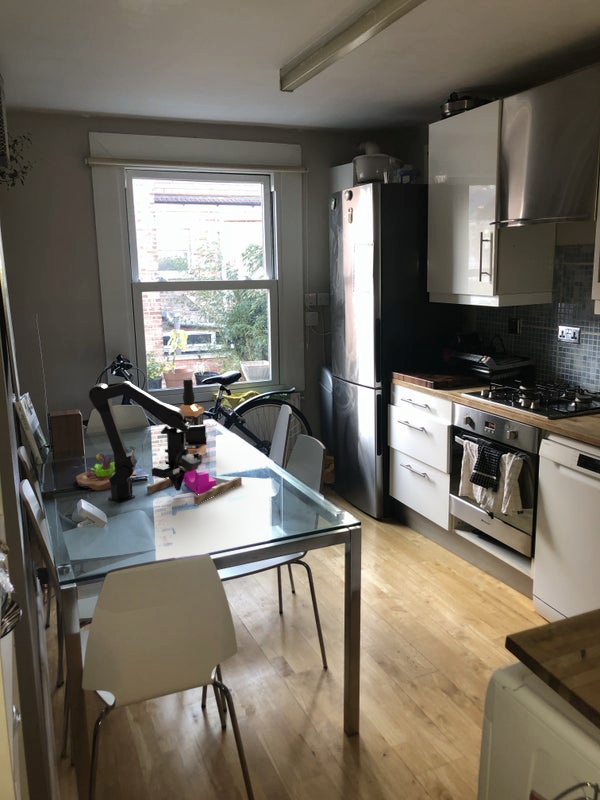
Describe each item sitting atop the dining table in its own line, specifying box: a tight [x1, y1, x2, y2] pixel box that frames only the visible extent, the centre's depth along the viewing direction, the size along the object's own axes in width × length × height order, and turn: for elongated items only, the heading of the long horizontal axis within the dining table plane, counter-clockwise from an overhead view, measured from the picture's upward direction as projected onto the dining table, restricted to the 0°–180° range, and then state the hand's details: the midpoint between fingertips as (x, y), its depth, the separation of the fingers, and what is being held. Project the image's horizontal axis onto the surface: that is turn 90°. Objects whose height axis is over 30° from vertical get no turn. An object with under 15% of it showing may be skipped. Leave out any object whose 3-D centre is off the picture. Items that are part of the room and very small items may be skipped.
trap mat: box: [209, 476, 230, 485], centre depth 234 cm, size 6×19×1 cm, turn 58°
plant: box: [75, 452, 138, 491], centre depth 235 cm, size 20×20×11 cm
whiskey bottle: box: [178, 378, 207, 457], centre depth 264 cm, size 10×10×32 cm
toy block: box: [183, 469, 216, 495], centre depth 226 cm, size 15×6×8 cm, turn 29°
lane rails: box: [146, 476, 243, 505], centre depth 226 cm, size 24×23×3 cm
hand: (178, 490), depth 219 cm, fingers closed
